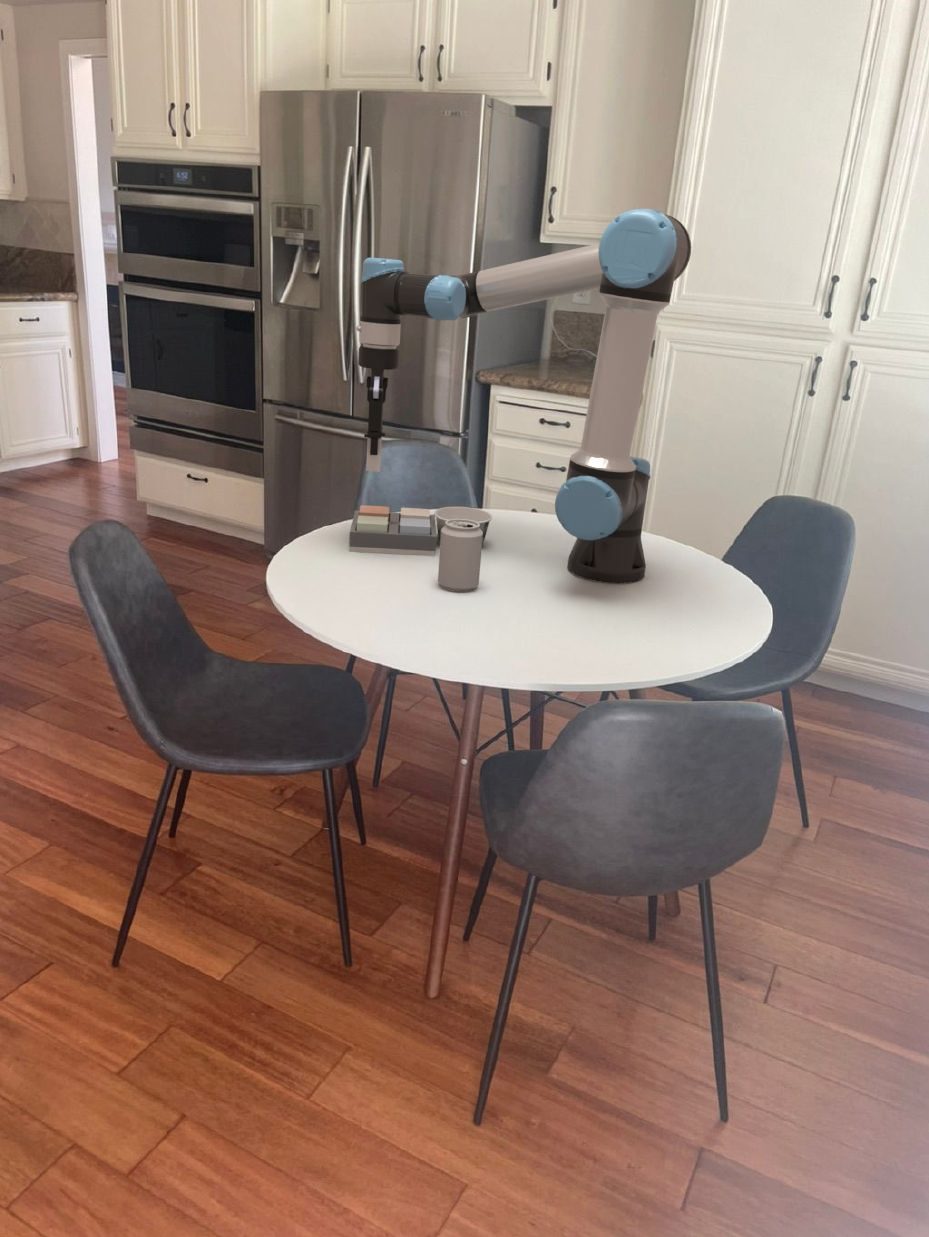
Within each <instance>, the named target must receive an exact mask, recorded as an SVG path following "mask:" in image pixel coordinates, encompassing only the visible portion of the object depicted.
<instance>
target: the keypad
mask: <svg viewBox="0 0 929 1237" xmlns="http://www.w3.org/2000/svg"><path fill="white" fill-rule="evenodd" d="M359 511H360V510H354V514H353V517H352V522H351V526H350V529H349V542H348V543H349V546H348V547H349V548H348V551H349V552H350V553H351V552H353V553H354V552H355V553H369V554H370V553H371V554H387V555H389V554H392V555H394V554H395V555H407V556H408V555H409V556H424V557H425V556H427V557H436V551H437V550H436V548H437V523H436V516H435V515H434V514H430V535H421V534H403V533H400V518H401V512H391V511H389V521H388V531H387V533H385V532H367V531H357V520H358V516H359Z"/></svg>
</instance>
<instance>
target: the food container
mask: <svg viewBox="0 0 929 1237" xmlns="http://www.w3.org/2000/svg"><path fill="white" fill-rule="evenodd" d="M433 515H435V521H436V531H437V535H438V538H437V539H438V544H439V546H440V539H441V529H442V528H443V527H444V526H445V525H446V524H445V522H446V521H447V520H450V519H468V520H473V521H476V522H478V523H479V524H480V527H479V528H480V529H481V531H482V532H483V538H482V548H483V547H484V543H485V540H486V536H487V533H488V527H489V525H490V522H491V521H492V520H493V516H492V514H491V513H489V512H488V511H485V510H482V509H479V508H473V507H469V506H468V507H467V506H445V507H440V508H438V509H437V508H436V510H435V511H434V512H433Z"/></svg>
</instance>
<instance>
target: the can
mask: <svg viewBox="0 0 929 1237" xmlns="http://www.w3.org/2000/svg"><path fill="white" fill-rule="evenodd" d="M445 524H446V525H445V526H444V527H443V528H442V529H441V539H440V545H439V559H438V573H437V574H438V575H437V582H438V584H439V585H441V587H442V588H443V589H445V590H447V591H452V592H460V593H463V592H470V591H472V590H474V589H475V588H476V587H478V586H479V585H480V575H481V574H480V572H481V560H482V549H483V547H482V538H483V532H482V531H481V529H480V528H479V527H480V524H479V523H478V522H476V521H473V520H468V519H450V520H447V521H446V522H445Z"/></svg>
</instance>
